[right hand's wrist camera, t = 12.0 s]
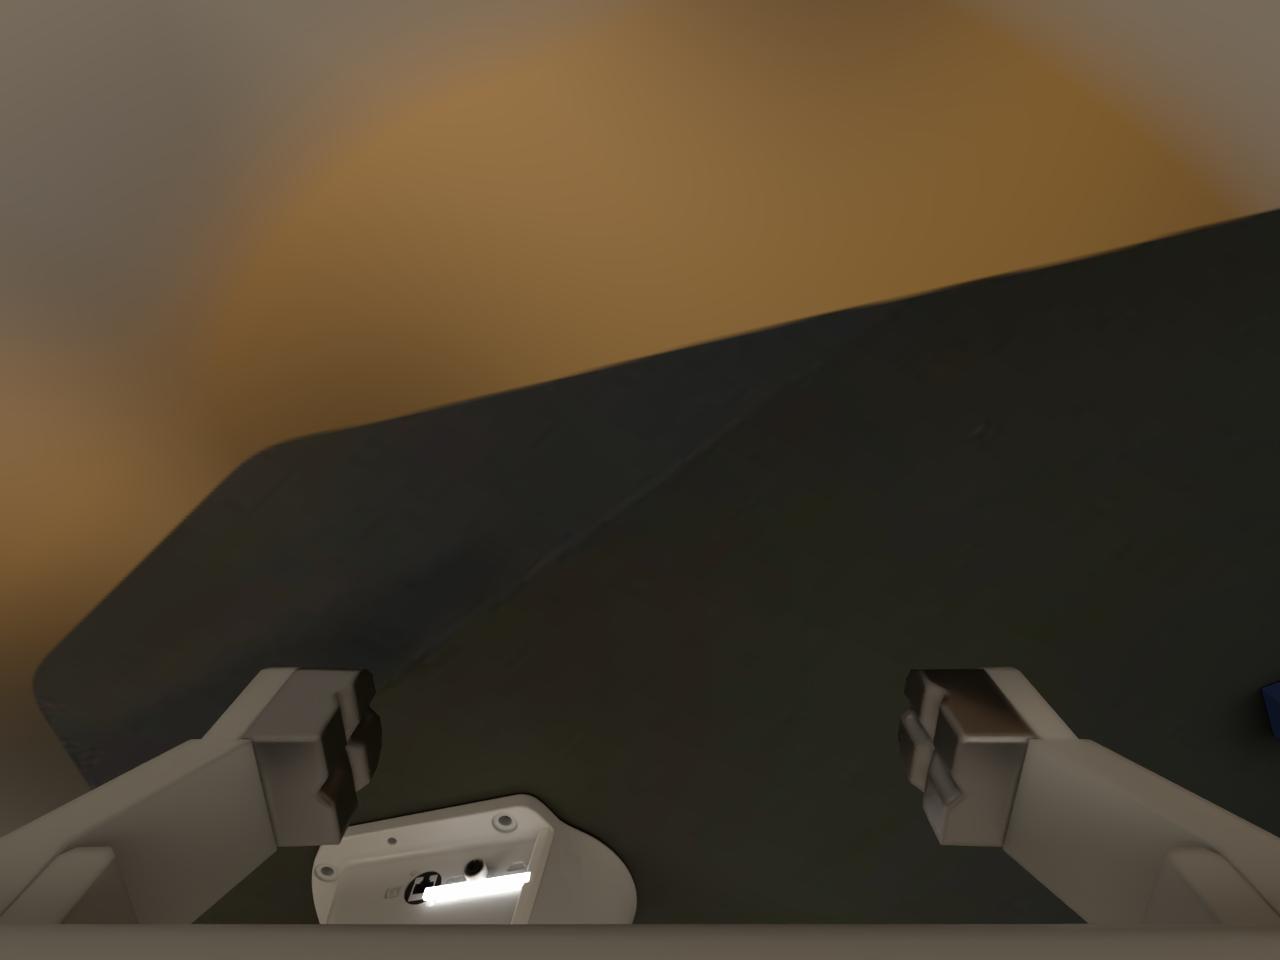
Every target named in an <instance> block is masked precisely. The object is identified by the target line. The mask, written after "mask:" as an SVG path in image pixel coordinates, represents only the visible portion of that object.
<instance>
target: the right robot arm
mask: <svg viewBox="0 0 1280 960" xmlns="http://www.w3.org/2000/svg"><path fill="white" fill-rule="evenodd" d="M375 693H376V691H375V686H374V681H373V676H372V673H371V672H369V671H368V670H367V669H354V668H308V667H303V668H298V667H269V668H267V669H264V670H261V671H260V672H259V673H258V674H257V675H256V677H255V678H254V679H253V680H252V681H251V682H250V683H249V685H248V686H247V687H246V688H245V689H244V690H243V692H242V693H241V694H240V695H239V696H238V697H237V699H236V700H235V701H234V702H233V703H232V704H231V705H230V707H229V708H228V709H227V710H226V711H225V712H224V714H223V715H222V716H221V717H220V718H219V719H218V720H217V722H216V723H215V724H214V725H213V726H212V727H211V729H210V730H209V731H208V732H207V733H206V734H205V735H204V737H203V738H202V739H190V740H188V741H186V742H184V743H182V744H180V745H178V746H177V747H175V748H173V749H171V750H169V751H167V752H165V753H163V754H161V755H159V756H157V757H155V758H153V759H151V760H150V761H148V762H146V763H144V764H142V765H140V766H138V767H136V768H134V769H132V770H130V771H128V772H126V773H124V774H123V775H121V776H119V777H117V778H115V779H113V780H111V781H109V782H107V783H105V784H103V785H101V786H99V787H97V788H95V789H94V790H92V791H90V792H88V793H86V794H84V795H82V796H80V797H78V798H76V799H74V800H72V801H70V802H68V803H67V804H65V805H63V806H61V807H59V808H57V809H55V810H53V811H51V812H49V813H47V814H45V815H43V816H42V817H40V818H38V819H36V820H34V821H32V822H30V823H28V824H26V825H24V826H22V827H20V828H18V829H16V830H14V831H13V832H11V833H9V834H7V835H5V836H3V837H1V838H0V960H1280V838H1279V837H1277V836H1275V835H1273V834H1271V833H1269V832H1267V831H1265V830H1263V829H1261V828H1259V827H1257V826H1255V825H1254V824H1252V823H1250V822H1248V821H1246V820H1244V819H1242V818H1240V817H1238V816H1236V815H1234V814H1232V813H1230V812H1228V811H1227V810H1225V809H1223V808H1221V807H1219V806H1217V805H1215V804H1213V803H1211V802H1209V801H1207V800H1205V799H1203V798H1202V797H1200V796H1198V795H1196V794H1194V793H1192V792H1190V791H1188V790H1186V789H1184V788H1182V787H1180V786H1178V785H1177V784H1175V783H1173V782H1171V781H1169V780H1167V779H1165V778H1163V777H1161V776H1159V775H1157V774H1155V773H1153V772H1152V771H1150V770H1148V769H1146V768H1144V767H1142V766H1140V765H1138V764H1136V763H1134V762H1132V761H1130V760H1128V759H1126V758H1125V757H1123V756H1121V755H1119V754H1117V753H1115V752H1113V751H1111V750H1109V749H1107V748H1105V747H1103V746H1101V745H1100V744H1098V743H1096V742H1094V741H1092V740H1090V739H1078V738H1077V737H1076V736H1075V734H1074V733H1073V732H1072V731H1071V730H1070V729H1069V727H1068V726H1067V725H1066V724H1065V723H1064V722H1063V721H1062V719H1061V718H1060V717H1059V716H1058V715H1057V714H1056V712H1055V711H1054V710H1053V709H1052V708H1051V707H1050V706H1049V704H1048V703H1047V702H1046V701H1045V700H1044V699H1043V697H1042V696H1041V695H1040V694H1039V693H1038V692H1037V690H1036V689H1035V688H1034V687H1033V686H1032V685H1031V684H1030V682H1029V681H1028V680H1027V679H1026V678H1025V677H1024V675H1023V674H1022V673H1021V672H1020V671H1019V670H1017V669H1015V668H1013V667H990V668H977V669H915V670H910V672H909V674H908V676H907V679H906V685H905V690H904V693H905V695H906V697H907V699H908V700H909V702H910V704H911V707H910V708H909V709H908V710H907V711H906V712H905V713H904V714H903V715H902V716H901V717H900V723H899V731H898V741H899V752H900V757H901V761H902V764H903V768H904V770H905V772H906V775H907V777H908V779H909V781H910V783H912V784H913V785H915V786H916V787H917V788H919V789H920V790H921V791H923V792H924V797H923V803H922V808H923V810H924V812H925V814H926V816H927V818H928V820H929V822H930V824H931V826H932V828H933V830H934V832H935V834H936V836H937V838H938V840H939V842H940V844H941V845H963V846H998V847H1003V850H1004V851H1005V852H1006V853H1007V854H1008V855H1010V856H1011V857H1012V858H1013V859H1014V860H1015V861H1017V862H1018V863H1019V864H1020V865H1021V866H1022V867H1024V868H1025V869H1026V870H1027V871H1028V872H1029V873H1031V874H1032V875H1033V876H1034V877H1035V878H1036V879H1038V880H1039V881H1040V882H1041V883H1042V884H1043V885H1045V886H1046V887H1047V888H1048V889H1049V890H1050V891H1051V892H1053V893H1054V894H1055V895H1056V896H1057V897H1058V898H1060V899H1061V900H1062V901H1063V902H1064V903H1065V904H1067V905H1068V906H1069V907H1070V908H1071V909H1072V910H1074V911H1075V912H1076V913H1077V914H1078V915H1079V916H1081V917H1082V918H1083V919H1084V920H1085V921H1086V922H1088V923H1089V924H632V922H633V920H634V916H635V913H636V907H637V894H636V889H635V885H634V882H633V879H632V877H631V875H630V873H629V871H628V869H627V868H626V866H625V865H624V863H623V862H622V861H621V859H620V858H619V857H618V856H617V855H616V854H615V853H614V852H613V851H612V850H611V849H609V848H608V847H607V846H606V845H604V844H603V843H601V842H600V841H599V840H597V839H595V838H594V837H592V836H590V835H588V834H586V833H584V832H582V831H580V830H577V829H575V828H573V827H571V826H569V825H567V824H565V823H563V822H562V821H560V820H559V819H558V818H557V817H556V816H555V815H554V814H553V813H552V812H551V811H550V810H549V809H548V808H547V807H546V806H545V805H544V804H543V803H542V802H540V801H539V800H538V799H536V798H535V797H533V796H530V795H526V794H518V795H512V796H507V797H501V798H496V799H491V800H486V801H480V802H475V803H470V804H465V805H459V806H454V807H449V808H444V809H438V810H433V811H428V812H423V813H417V814H412V815H407V816H402V817H396V818H391V819H386V820H381V821H375V822H370V823H365V824H360V825H354V826H349V824H350V822H351V820H352V818H353V816H354V814H355V812H356V810H357V808H358V803H357V797H356V792H357V791H359V790H360V789H361V788H363V787H364V786H365V785H367V784H368V783H370V781H371V779H372V777H373V774H374V772H375V770H376V768H377V765H378V760H379V756H380V751H381V745H382V729H381V722H380V717H379V716H378V715H377V714H376V713H375V712H374V711H373V710H372V709H371V708H370V707H369V704H370V702H371V700H372V699H373V697H374V695H375ZM506 816H508V817H506ZM348 826H349V827H348ZM316 845H320V847H319V850H318V852H317V855H316V858H315V861H314V865H313V871H312V892H313V898H314V904H315V908H316V912H317V916H318V919H319V922H320V924H191V923H193V922H194V921H195V920H196V919H197V918H198V917H200V916H201V915H202V914H203V913H204V912H205V911H207V910H208V909H209V908H210V907H211V906H212V905H214V904H215V903H216V902H217V901H218V900H219V899H221V898H222V897H223V896H224V895H225V894H226V893H228V892H229V891H230V890H231V889H232V888H233V887H235V886H236V885H237V884H238V883H239V882H240V881H242V880H243V879H244V878H245V877H246V876H247V875H249V874H250V873H251V872H252V871H253V870H254V869H256V868H257V867H258V866H259V865H260V864H261V863H263V862H264V861H265V860H266V859H267V858H268V857H270V856H271V855H272V854H273V853H274V852H275V851H277V847H282V846H316Z"/></svg>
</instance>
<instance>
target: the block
mask: <svg viewBox="0 0 1280 960" xmlns="http://www.w3.org/2000/svg"><path fill="white" fill-rule="evenodd" d="M1262 693H1263V697H1264V701H1265V704H1266V708H1267V712H1268V716H1269V719H1270V723H1271V727H1272V731H1273V734H1274V736H1275V737H1276V738H1277V739H1278V740H1280V681H1279V682H1277V683H1274V684H1271V685H1269V686H1266V687H1263V688H1262Z"/></svg>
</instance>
